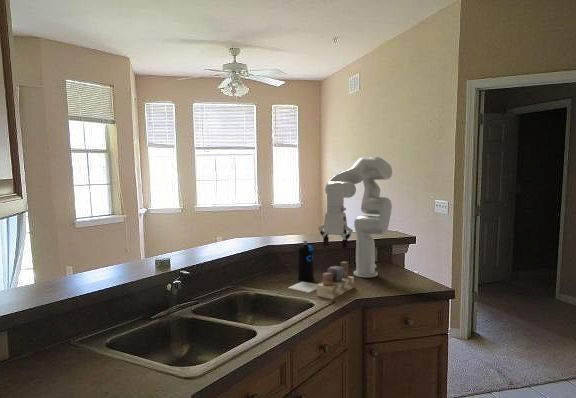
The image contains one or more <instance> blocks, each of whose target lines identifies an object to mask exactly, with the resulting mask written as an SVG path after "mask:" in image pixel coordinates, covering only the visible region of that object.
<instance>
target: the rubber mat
mask: <svg viewBox="0 0 576 398" xmlns="http://www.w3.org/2000/svg"><path fill="white" fill-rule="evenodd" d="M318 284H319V283H317V284H316V283H312V282H309V281H300V282H298V283H295V284H292V285H290V286H289V287H288V288H287V289H289V290H292V291H297V292H301V293H302V292H303V293H307V294H310V293H312V292H314V291H317V285H318Z"/></svg>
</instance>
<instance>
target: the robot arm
mask: <svg viewBox="0 0 576 398" xmlns="http://www.w3.org/2000/svg"><path fill="white" fill-rule="evenodd" d="M392 176H393V169H392V166H391V164H390V163H389V162H388V161H386V160H385V159H383V158H382V157H379V156H368V157H367V156H364V157H360V158H358V159H357V160H356V161H355V162H354V163H353V165H352V166H351V167H350V168H349V169H346V170H344V171H342V172H340V173H338V174H335V175H333V176H332V177H331V178H330V179H329V180H328V182H326V185H325V188H324V189H325V194H326V212H325V214H324V219H323V220H324V221H323V224H322V225H321V226H319V227H318V230H319V234H320V235H321V236H322V238H323V239H322V240H323V241H322V242H323V243H322V244H323V246H324V247H328V246H329V240H330V239H329V235H334V236H341V238H342V239H341V240H342V242H341V245H342V246H341V247H342V249H343V250H344V249H347V248H348V243H349V242H348V240H349V238H350V237H351V236H352V234H353V233H354V230H355V241H356V242H355V243H356V245H355V246H356V247H355V248H356V249H355V250H356V251H355V252H356V254H355V255H356V261H355V262H356V264H355V265H356V266H355V267H356V269H355V270H354V271H353V276H355V277H359V278H367V279H368V278H375V277H377V276H378V274H379V273H378V271H376V269H375V268H377V266H378V265H377V264H376V263H375V262H376V261H375V259H376V258H375V257H376V256H375V255H376V254H375V252H376V249H375V247H376V246H375V244H376V243H375V240H374V237H373V236H372V235H376V236H377V235H379V236H385V235H386V234H387V232H388V230H389V226H390V220H391V215H392V209H393V208H392V200H391V199H390V198H388V197H383V196H380V195H381V187H380V186H379V184H378V183H377V182H376V181H378V180H379V181H380V180H381V181H382V180H383V181H385V180H390V179H391V177H392ZM361 182H362V183H363V187H364V191H363V195H362V199H361V200H362V201H361V205H360V206H361V207H360V211H361V212H362V213H363V214H364V215H358V216H357V217H355V220H354V223H353V225H354V226H353V227H354V230H353V229H352V228H350V227H349V226H348V220H347V219H348V218H347V215H346V212H345V211H346V210H347V208H346V207H345V206H344V204H345V203H344V198H345V199H349V198H352V197H353V196H355V194H356V192H357V188H356V185H357V184H360V183H361Z"/></svg>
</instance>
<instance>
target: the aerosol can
mask: <svg viewBox="0 0 576 398" xmlns="http://www.w3.org/2000/svg"><path fill="white" fill-rule="evenodd" d="M297 262H298V263H297V264H298V265H297V267H298V268H297V269H298V272H297V273H298V274H297V275H298V277H297V280H298V281H300V282H302V281H303V282H310V281H311V282H312V281H314V280H315V279H314V247H312V245H309V244H308V240H303V244H301V245H300V246H299V247H298V248H297Z"/></svg>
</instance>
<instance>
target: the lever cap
mask: <svg viewBox="0 0 576 398" xmlns="http://www.w3.org/2000/svg"><path fill="white" fill-rule="evenodd" d="M326 273H332V281H339V280H341V279H343V278H344V267H341V265H340V266H339V265H332V266H329V268H327V269H326Z"/></svg>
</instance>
